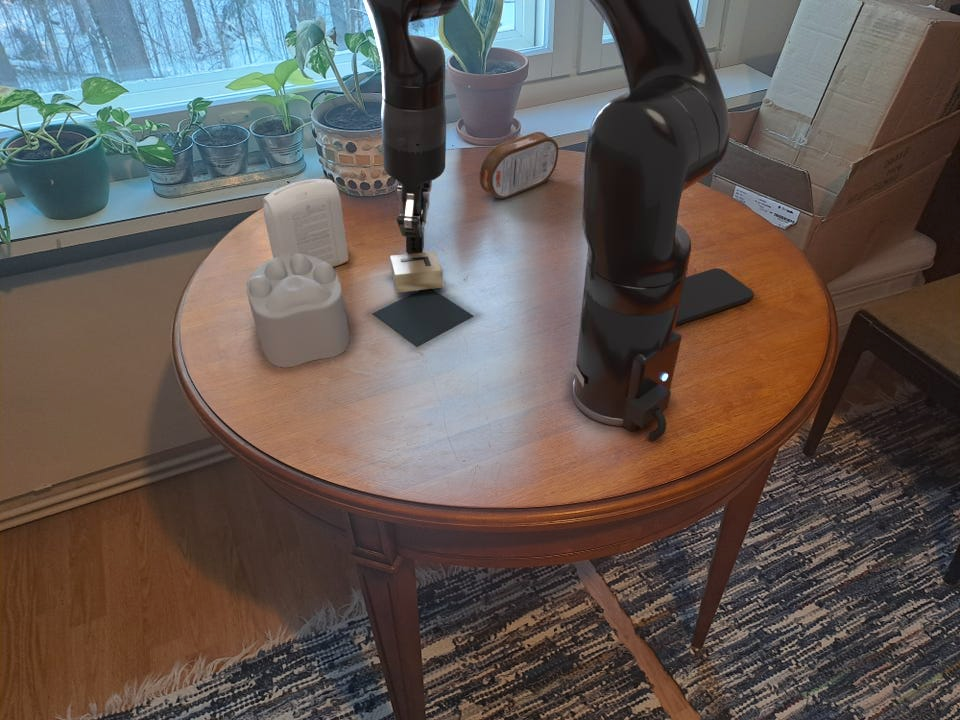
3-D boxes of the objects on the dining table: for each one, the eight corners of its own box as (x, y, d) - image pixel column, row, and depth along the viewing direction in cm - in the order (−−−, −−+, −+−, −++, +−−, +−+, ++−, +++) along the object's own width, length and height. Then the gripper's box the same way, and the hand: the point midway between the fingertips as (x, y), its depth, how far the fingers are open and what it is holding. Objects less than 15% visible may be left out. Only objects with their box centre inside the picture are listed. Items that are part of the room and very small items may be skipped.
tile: (435, 268, 96) (434, 250, 94) (443, 287, 91) (442, 269, 89) (391, 272, 95) (390, 254, 93) (396, 292, 90) (395, 274, 88)
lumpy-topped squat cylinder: (267, 372, 80) (251, 311, 75) (252, 310, 90) (236, 251, 84) (357, 351, 83) (347, 290, 78) (333, 293, 92) (323, 234, 87)
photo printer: (341, 249, 101) (328, 167, 93) (354, 262, 98) (342, 179, 90) (272, 271, 97) (252, 187, 89) (284, 285, 94) (265, 200, 86)
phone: (625, 295, 90) (719, 266, 95) (624, 300, 91) (718, 271, 95) (660, 327, 85) (758, 294, 90) (659, 332, 85) (756, 300, 90)
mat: (473, 316, 88) (473, 315, 88) (416, 346, 84) (416, 346, 84) (428, 286, 93) (428, 285, 93) (372, 313, 89) (372, 313, 89)
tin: (546, 173, 119) (549, 124, 114) (560, 179, 117) (563, 130, 112) (478, 200, 112) (477, 149, 106) (490, 207, 110) (491, 156, 105)
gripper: (439, 165, 78) (437, 285, 91) (451, 109, 88) (447, 225, 100) (372, 159, 79) (379, 280, 91) (391, 104, 88) (395, 220, 100)
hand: (415, 251), depth 96 cm, fingers closed
